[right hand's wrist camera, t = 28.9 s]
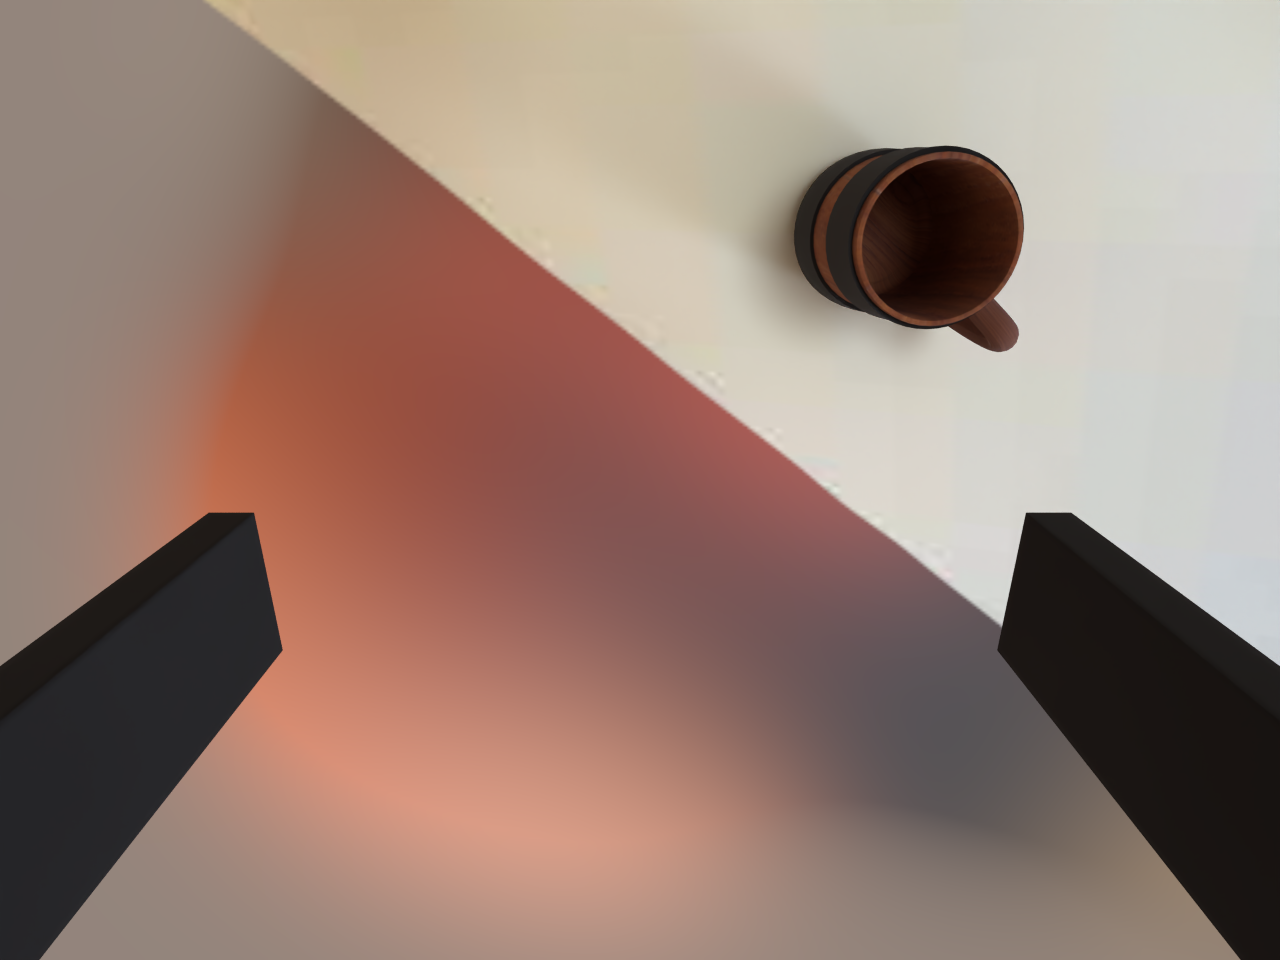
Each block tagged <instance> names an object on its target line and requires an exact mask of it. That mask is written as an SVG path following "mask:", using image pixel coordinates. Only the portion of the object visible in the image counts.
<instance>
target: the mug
mask: <svg viewBox="0 0 1280 960" xmlns="http://www.w3.org/2000/svg"><path fill="white" fill-rule="evenodd" d="M1023 233H1024V221H1023V212H1022V207H1021V203H1020V200H1019V197H1018V194H1017V192H1016V190H1015V188H1014V186H1013V183H1012V182H1011V181H1010V179H1009V178H1008V176H1007V175H1006V173H1005V172H1004V171H1003V170H1002V169H1001V168H1000V167H999V166H998V165H997V164H995V163H994V162H993V161H992V160H990V159H989V158H987V157H986V156H984V155H982V154H980V153H978V152H975V151H973V150H970V149H967V148H962V147H957V146H936V147H914V148H904V149H891V148H882V149H872V150H867V151H862V152H858V153H855V154H853V155H850V156H847V157H845V158H843V159H841V160H840V161H838V162H836V163H835V164H833V165H832V166H830V167H829V168H828V169H826V170H825V171H824V172H823V173H822V174H821V175H820V176H819V177H818V178H817V179H816V181H815V182H814V183H813V184H812V186H811V187H810V189H809V190H808V192H807V193H806V195H805V197H804V199H803V201H802V203H801V206H800V208H799V211H798V214H797V218H796V223H795V231H794V244H795V251H796V256H797V259H798V263H799V265H800V267H801V270H802V272H803V274H804V275H805V277H806V279H807V280H808V281H809V282H810V284H811V285H812V286H813V287H814V288H815V289H816V290H817V291H818V292H819V293H820V294H822V295H823V296H825V297H826V298H828V299H829V300H831V301H833V302H835V303H837V304H839V305H841V306H844V307H847V308H850V309H854V310H857V311H862V312H866V313H868V314H870V315H873V316H876V317H879V318H883V319H887V320H890V321H892V322H894V323H897V324H900V325H902V326H906V327H911V328H916V329H935V328H941V327H946V326H949V327H950V328H952V329H953V330H955V331H956V332H958V333H959V334H961V335H962V336H964V337H966V338H967V339H969V340H971V341H972V342H974V343H976V344H978V345H979V346H981V347H983V348H986V349H988V350H991V351H995V352H1002V351H1007V350H1009V349H1010V348H1012V347H1013V346H1014V345H1015V344H1016V342H1017V339H1018V336H1019V331H1018V327H1017V325H1016V324H1015V322H1014V321H1013V320H1012V318H1011V317H1010V316H1009V315H1008V314H1007V313H1006V311H1005V310H1004V309H1003V308H1002V307H1001V306H1000V305H999V304H998V303H997V302H996V301H995V300H994V297H995V296H996V295H997V294H998V293H999V292H1000V291H1001V290H1002V288H1003V287H1004V286H1005V284H1006V283H1007V281H1008V280H1009V278H1010V276H1011V275H1012V273H1013V271H1014V268H1015V266H1016V264H1017V261H1018V258H1019V255H1020V252H1021V247H1022V242H1023Z"/></svg>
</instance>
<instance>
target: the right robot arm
mask: <svg viewBox="0 0 1280 960" xmlns="http://www.w3.org/2000/svg"><path fill="white" fill-rule="evenodd" d="M281 652H282V645H281V640H280V635H279V630H278V626H277V621H276V616H275V611H274V606H273V602H272V597H271V592H270V587H269V582H268V578H267V573H266V568H265V563H264V559H263V554H262V549H261V544H260V540H259V535H258V530H257V525H256V521H255V516H254V513H208V514H207V515H205V516H204V517H202V518H201V519H200V520H198V521H197V522H196V523H194V524H193V525H192V526H190V527H189V528H187V529H186V530H185V531H183V532H182V533H181V534H179V535H178V536H177V537H175V538H174V539H173V540H171V541H170V542H168V543H167V544H166V545H164V546H163V547H162V548H160V549H159V550H158V551H156V552H155V553H153V554H152V555H151V556H149V557H148V558H147V559H145V560H144V561H143V562H141V563H140V564H138V565H137V566H136V567H134V568H133V569H132V570H130V571H129V572H128V573H126V574H125V575H124V576H122V577H121V578H120V579H118V580H117V581H115V582H114V583H113V584H111V585H110V586H109V587H107V588H106V589H104V590H103V591H102V592H100V593H99V594H98V595H96V596H95V597H94V598H92V599H91V600H90V601H88V602H87V603H86V604H84V605H83V606H81V607H80V608H79V609H77V610H76V611H75V612H73V613H72V614H71V615H69V616H68V617H67V618H65V619H64V620H62V621H61V622H60V623H58V624H57V625H56V626H54V627H53V628H51V629H50V630H49V631H47V632H46V633H45V634H43V635H42V636H41V637H39V638H38V639H37V640H35V641H34V642H32V643H31V644H30V645H28V646H27V647H26V648H24V649H23V650H22V651H20V652H19V653H18V654H16V655H15V656H13V657H12V658H11V659H9V660H8V661H7V662H5V663H4V664H3V665H1V666H0V960H39V959H40V958H41V957H42V956H43V954H44V953H45V952H46V951H47V949H48V948H49V947H50V945H51V944H52V943H53V942H54V940H55V939H56V938H57V937H58V935H59V934H60V933H61V932H62V930H63V929H64V928H65V926H66V925H67V924H68V923H69V921H70V920H71V919H72V918H73V916H74V915H75V914H76V912H77V911H78V910H79V909H80V907H81V906H82V905H83V903H84V902H85V901H86V900H87V898H88V897H89V896H90V895H91V893H92V892H93V891H94V890H95V888H96V887H97V886H98V884H99V883H100V882H101V881H102V879H103V878H104V877H105V876H106V874H107V873H108V872H109V870H110V869H111V868H112V867H113V865H114V864H115V863H116V862H117V860H118V859H119V858H120V856H121V855H122V854H123V853H124V851H125V850H126V849H127V848H128V846H129V845H130V844H131V843H132V841H133V840H134V839H135V837H136V836H137V835H138V834H139V832H140V831H141V830H142V829H143V827H144V826H145V825H146V823H147V822H148V821H149V820H150V818H151V817H152V816H153V815H154V813H155V812H156V811H157V809H158V808H159V807H160V806H161V804H162V803H163V802H164V801H165V799H166V798H167V797H168V795H169V794H170V793H171V792H172V790H173V789H174V788H175V786H176V785H177V784H178V783H179V781H180V780H181V779H182V778H183V776H184V775H185V774H186V773H187V771H188V770H189V769H190V767H191V766H192V765H193V764H194V762H195V761H196V760H197V759H198V757H199V756H200V755H201V753H202V752H203V751H204V750H205V748H206V747H207V746H208V745H209V743H210V742H211V741H212V739H213V738H214V737H215V736H216V734H217V733H218V732H219V731H220V729H221V728H222V727H223V725H224V724H225V723H226V722H227V720H228V719H229V718H230V717H231V715H232V714H233V713H234V711H235V710H236V709H237V708H238V706H239V705H240V704H241V702H242V701H243V700H244V699H245V697H246V696H247V695H248V694H249V692H250V691H251V690H252V689H253V687H254V686H255V685H256V683H257V682H258V681H259V680H260V678H261V677H262V676H263V675H264V673H265V672H266V671H267V669H268V668H269V667H270V666H271V664H272V663H273V662H274V660H275V659H276V658H277V657H278V655H279V654H280V653H281ZM998 652H999V653H1000V654H1001V655H1002V657H1003V658H1004V659H1005V661H1006V662H1007V663H1008V664H1009V666H1010V667H1011V668H1012V669H1013V671H1014V672H1015V673H1016V675H1017V676H1018V677H1019V678H1020V680H1021V681H1022V682H1023V683H1024V685H1025V686H1026V687H1027V689H1028V690H1029V691H1030V692H1031V694H1032V695H1033V696H1034V697H1035V699H1036V700H1037V701H1038V703H1039V704H1040V705H1041V706H1042V708H1043V709H1044V710H1045V711H1046V713H1047V714H1048V715H1049V717H1050V718H1051V719H1052V720H1053V722H1054V723H1055V724H1056V725H1057V727H1058V728H1059V729H1060V731H1061V732H1062V733H1063V734H1064V736H1065V737H1066V738H1067V739H1068V741H1069V742H1070V743H1071V745H1072V746H1073V747H1074V748H1075V750H1076V751H1077V752H1078V753H1079V755H1080V756H1081V757H1082V759H1083V760H1084V761H1085V762H1086V764H1087V765H1088V766H1089V767H1090V769H1091V770H1092V771H1093V773H1094V774H1095V775H1096V776H1097V778H1098V779H1099V780H1100V781H1101V783H1102V784H1103V785H1104V787H1105V788H1106V789H1107V790H1108V792H1109V793H1110V794H1111V795H1112V797H1113V798H1114V799H1115V800H1116V802H1117V803H1118V804H1119V806H1120V807H1121V808H1122V809H1123V811H1124V812H1125V813H1126V815H1127V816H1128V817H1129V818H1130V820H1131V821H1132V822H1133V823H1134V825H1135V826H1136V827H1137V829H1138V830H1139V831H1140V832H1141V834H1142V835H1143V836H1144V837H1145V839H1146V840H1147V841H1148V843H1149V844H1150V845H1151V846H1152V848H1153V849H1154V850H1155V851H1156V853H1157V854H1158V855H1159V857H1160V858H1161V859H1162V860H1163V862H1164V863H1165V864H1166V865H1167V867H1168V868H1169V869H1170V870H1171V872H1172V873H1173V874H1174V875H1175V877H1176V878H1177V879H1178V881H1179V882H1180V883H1181V884H1182V886H1183V887H1184V888H1185V890H1186V891H1187V892H1188V893H1189V895H1190V896H1191V897H1192V898H1193V900H1194V901H1195V902H1196V904H1197V905H1198V906H1199V907H1200V909H1201V910H1202V911H1203V912H1204V914H1205V915H1206V916H1207V918H1208V919H1209V920H1210V921H1211V923H1212V924H1213V925H1214V926H1215V928H1216V929H1217V930H1218V932H1219V933H1220V934H1221V935H1222V937H1223V938H1224V939H1225V940H1226V942H1227V943H1228V944H1229V946H1230V947H1231V948H1232V949H1233V951H1234V952H1235V953H1236V954H1237V956H1238V957H1239V958H1240V960H1280V666H1279V665H1277V664H1276V663H1275V662H1273V661H1272V660H1271V659H1269V658H1268V657H1267V656H1265V655H1264V654H1263V653H1261V652H1260V651H1258V650H1257V649H1256V648H1254V647H1253V646H1252V645H1250V644H1249V643H1248V642H1246V641H1245V640H1243V639H1242V638H1241V637H1239V636H1238V635H1237V634H1235V633H1234V632H1233V631H1231V630H1230V629H1229V628H1227V627H1226V626H1224V625H1223V624H1222V623H1220V622H1219V621H1218V620H1216V619H1215V618H1214V617H1212V616H1211V615H1209V614H1208V613H1207V612H1205V611H1204V610H1203V609H1201V608H1200V607H1199V606H1197V605H1196V604H1195V603H1193V602H1192V601H1190V600H1189V599H1188V598H1186V597H1185V596H1184V595H1182V594H1181V593H1180V592H1178V591H1177V590H1175V589H1174V588H1173V587H1171V586H1170V585H1169V584H1167V583H1166V582H1165V581H1163V580H1162V579H1161V578H1159V577H1158V576H1156V575H1155V574H1154V573H1152V572H1151V571H1150V570H1148V569H1147V568H1146V567H1144V566H1143V565H1142V564H1140V563H1139V562H1137V561H1136V560H1135V559H1133V558H1132V557H1131V556H1129V555H1128V554H1127V553H1125V552H1124V551H1122V550H1121V549H1120V548H1118V547H1117V546H1116V545H1114V544H1113V543H1112V542H1110V541H1109V540H1108V539H1106V538H1105V537H1103V536H1102V535H1101V534H1099V533H1098V532H1097V531H1095V530H1094V529H1093V528H1091V527H1090V526H1088V525H1087V524H1086V523H1084V522H1083V521H1082V520H1080V519H1079V518H1078V517H1076V516H1075V515H1074V514H1072V513H1026V515H1025V520H1024V525H1023V530H1022V535H1021V539H1020V544H1019V549H1018V554H1017V559H1016V563H1015V568H1014V573H1013V578H1012V582H1011V587H1010V592H1009V597H1008V602H1007V606H1006V611H1005V616H1004V621H1003V626H1002V630H1001V635H1000V640H999V645H998Z"/></svg>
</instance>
